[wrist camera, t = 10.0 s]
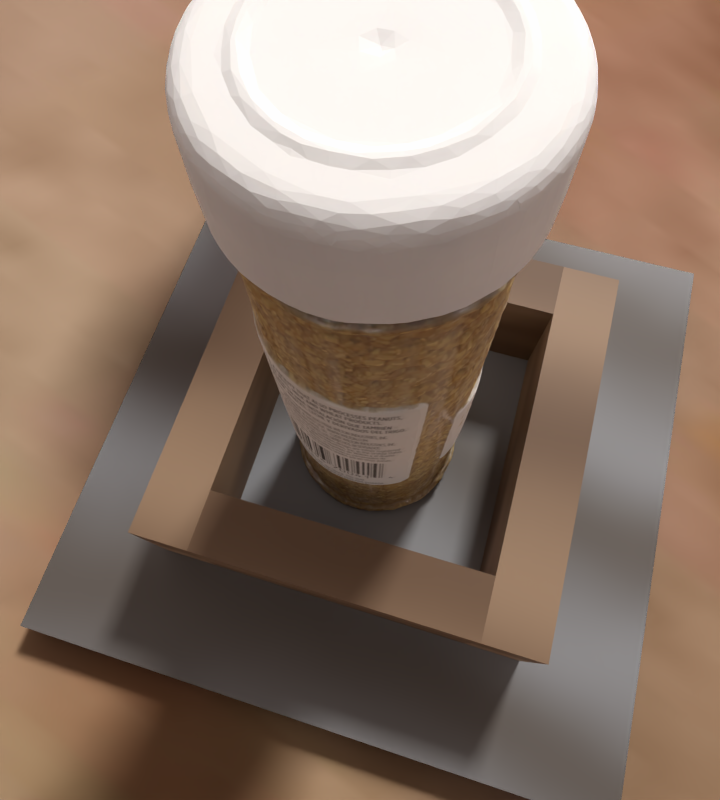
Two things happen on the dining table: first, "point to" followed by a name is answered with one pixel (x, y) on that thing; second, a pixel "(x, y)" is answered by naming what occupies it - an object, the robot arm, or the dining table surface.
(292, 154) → the sprinkles bottle
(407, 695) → the socket holder
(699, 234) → the dining table surface
